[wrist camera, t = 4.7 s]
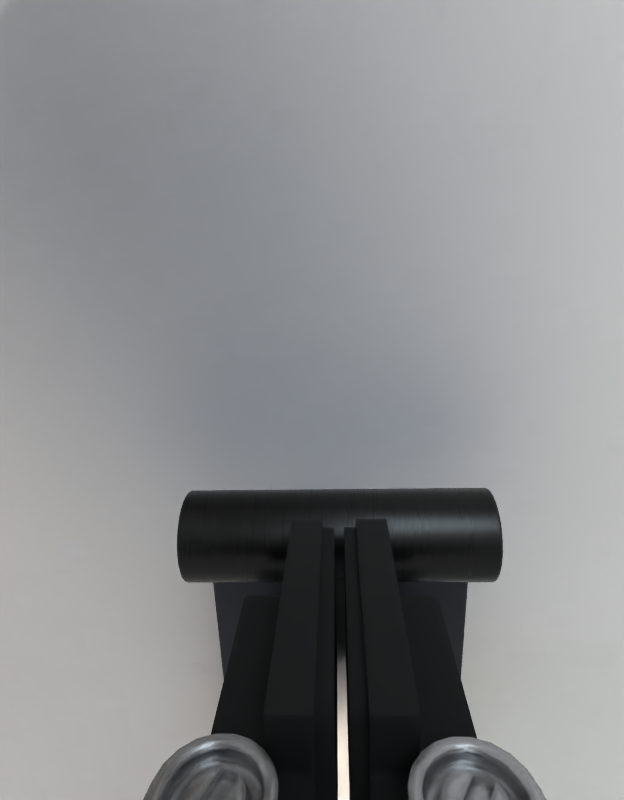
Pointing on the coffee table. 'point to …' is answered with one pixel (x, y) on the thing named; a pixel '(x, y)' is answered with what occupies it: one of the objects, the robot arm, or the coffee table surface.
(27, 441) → the coffee table surface
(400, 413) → the coffee table surface
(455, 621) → the switch bracket
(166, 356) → the coffee table surface
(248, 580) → the switch lever
